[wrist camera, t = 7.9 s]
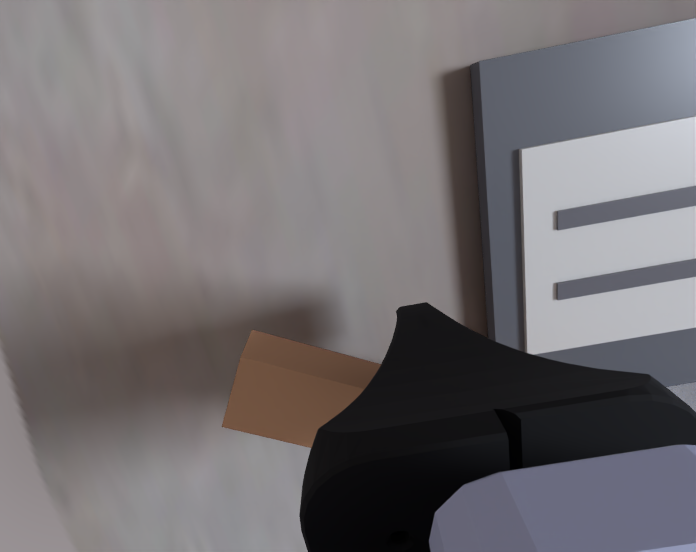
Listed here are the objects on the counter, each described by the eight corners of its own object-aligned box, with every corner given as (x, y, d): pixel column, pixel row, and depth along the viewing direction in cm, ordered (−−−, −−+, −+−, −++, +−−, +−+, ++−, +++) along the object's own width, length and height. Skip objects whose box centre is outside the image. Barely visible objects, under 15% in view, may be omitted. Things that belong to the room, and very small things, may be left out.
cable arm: (710, 442, 14) (751, 478, 13) (658, 507, 15) (691, 547, 14) (254, 318, 12) (244, 344, 10) (231, 403, 13) (218, 437, 12)
